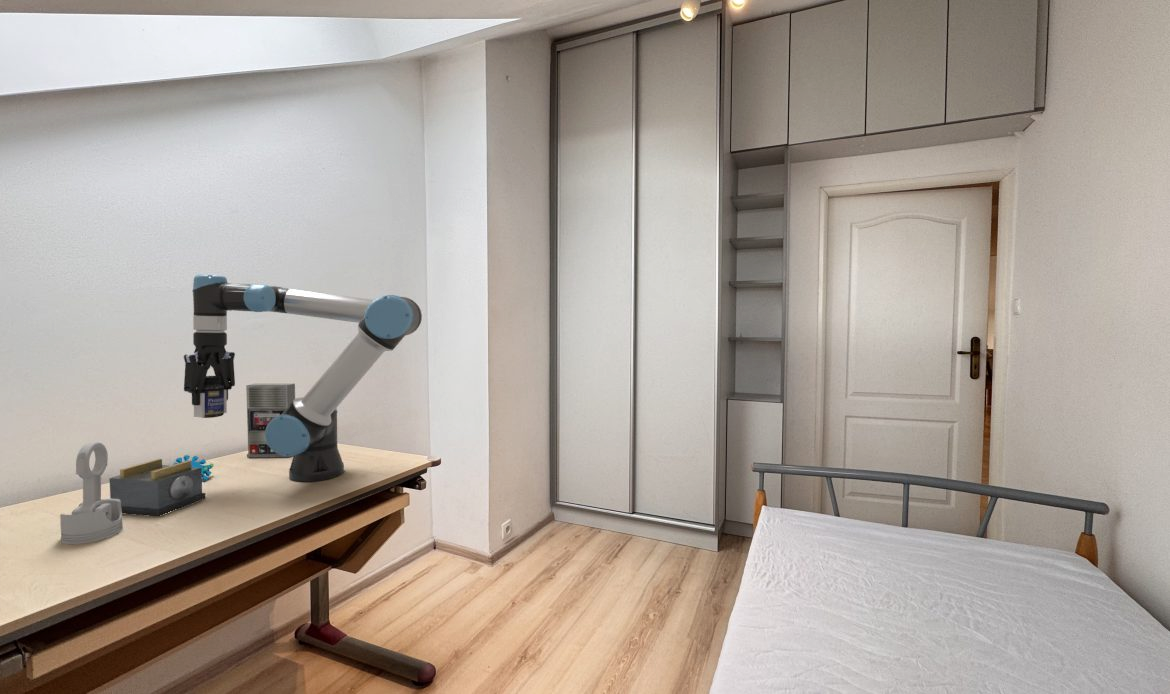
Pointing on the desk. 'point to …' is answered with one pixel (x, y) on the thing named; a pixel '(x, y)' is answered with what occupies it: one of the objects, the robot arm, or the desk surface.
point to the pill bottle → (213, 397)
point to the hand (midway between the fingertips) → (210, 414)
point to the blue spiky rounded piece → (197, 465)
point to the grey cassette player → (265, 413)
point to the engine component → (91, 502)
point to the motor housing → (157, 487)
